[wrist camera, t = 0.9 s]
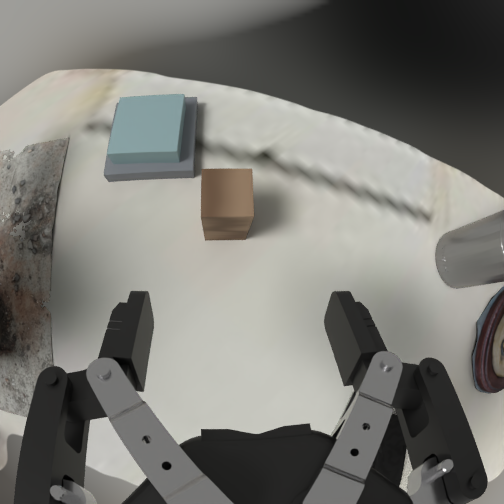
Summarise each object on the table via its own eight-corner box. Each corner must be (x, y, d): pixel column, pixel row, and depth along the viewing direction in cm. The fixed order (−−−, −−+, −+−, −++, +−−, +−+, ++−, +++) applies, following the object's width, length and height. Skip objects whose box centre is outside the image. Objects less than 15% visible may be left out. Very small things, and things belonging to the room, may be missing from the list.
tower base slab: (197, 108, 43) (196, 97, 40) (194, 179, 41) (192, 170, 38) (121, 113, 42) (116, 102, 39) (110, 183, 40) (103, 175, 37)
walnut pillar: (243, 202, 40) (252, 168, 31) (245, 239, 40) (254, 216, 30) (205, 202, 40) (201, 168, 30) (205, 240, 39) (201, 217, 29)
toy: (386, 520, 35) (405, 377, 38) (399, 536, 30) (427, 387, 33) (344, 533, 34) (355, 389, 37) (355, 552, 29) (374, 403, 32)
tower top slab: (185, 107, 40) (184, 94, 37) (179, 162, 38) (176, 151, 35) (125, 109, 39) (120, 97, 36) (113, 164, 37) (106, 153, 34)
